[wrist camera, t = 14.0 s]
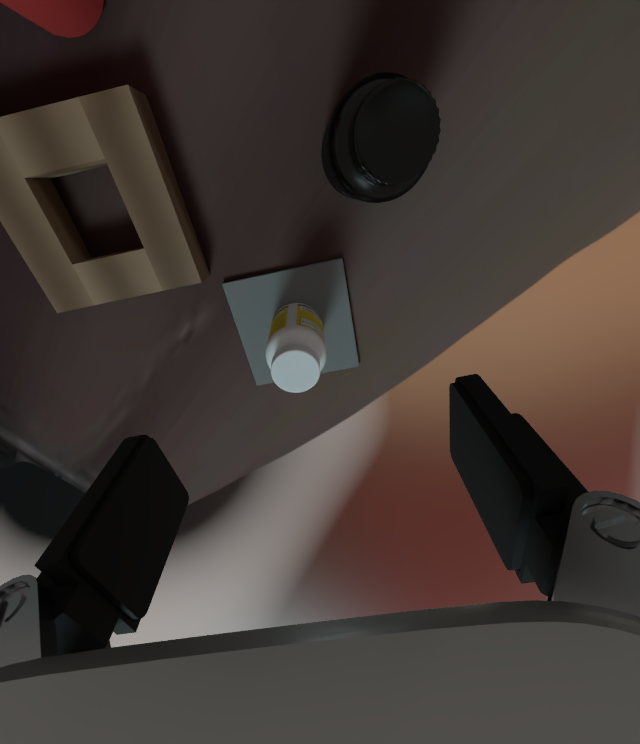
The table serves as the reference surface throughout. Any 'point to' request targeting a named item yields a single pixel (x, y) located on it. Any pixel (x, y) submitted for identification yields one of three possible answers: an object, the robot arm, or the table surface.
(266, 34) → the table surface
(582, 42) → the table surface
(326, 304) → the mat
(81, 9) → the beer can
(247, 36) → the table surface
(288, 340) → the supplement bottle
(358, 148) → the supplement bottle
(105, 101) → the holder
